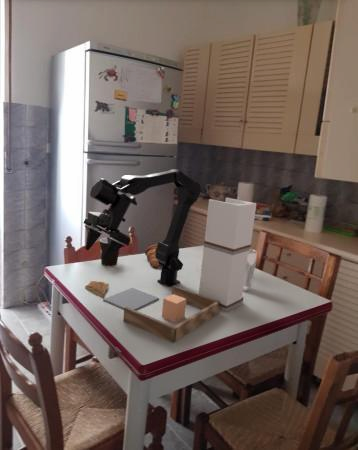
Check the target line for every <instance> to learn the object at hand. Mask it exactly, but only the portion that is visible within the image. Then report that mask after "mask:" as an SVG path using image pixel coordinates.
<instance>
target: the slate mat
mask: <svg viewBox="0 0 358 450" xmlns="http://www.w3.org/2000/svg"><path fill="white" fill-rule="evenodd" d="M102 300H103V302H106V303H108V304H110V305H112V306H115V307H118V308H119V309H122V310H124V308H125V307H128V308H131V309H133V310H136V311H137V310H139V309H141V308H143V307H146V306H148V305H150V304H152V303H154V302H156V301H158V300H160V298H159V297H157V296H155V295H152V294H149V293H147V292H145V291H142V290H139V289H136V288H134V287H130V288H128V289H125V290H123V291H119V292H117V293H115V294H113V295H110V296H108V297H103V299H102Z"/></svg>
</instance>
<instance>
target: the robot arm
mask: <svg viewBox="0 0 358 450" xmlns="http://www.w3.org/2000/svg"><path fill="white" fill-rule="evenodd" d="M167 184H173V185H174V186H175V188H177V193H176V197H177V204H176V207H175V211H174V213H173V216H172V219H171V221H170V225H169V228H168V231H167V234H166V237H165V238H164V239H163V240H162V241H158V242H157V244H158V245H157V248H156V250H155V252H156V254H155V257H156V259H157V260H158V263H159V264H160V265H162V267H161V269H160V279H157V280H156V282H157V283H159V284H162V285H164V286H167V287H172V286H176V285H177V284H180V282H181V281H180V280H178V271H180V270H182V269H183V266H184V263H183V262H182V261H181V260H180V258H179V256H180V247H179V242H180V239H181V235H182V234H183V230H184V227H185V224H186V222H187V219H188V216H189V212H190V210H191V207H192V206H193V205H194V204H195V203H196V202H197V201H198V199H199V197H200V195H201V193H202V187H201V184H200V183H199V182H196V181H195V180H193V179H192V178H190V177H189V176H187V175H186V174H185V173H184V172H183V171H182V170H180V169H176V168H175V169H174V168H173V169H172V168H171V169H170V170H166V171H162V172H161V171H160V172H155V173H150V174H147V175H135V174H133V175H129V174H128V175H127V174H126V175H123V176H121V178H120V180H118V181H116V182H114V183H111V182H109V181H108V180H107V179H105V178H100V180H99V181H97V182H96V183H95V184H94V185H93V186H92V187H91V188H90V189H91V190H90V191H89V192H90V195H89V196H90V198H92V199H94V200H96V201H98V202H99V203H101V204H103V205H105V206H108V208H107V209H106V208H104V209H103V211H102V212H99V211H88V213H87V215H86V216H87V217H86V218H85V219H84V221H83V224H84V227H85V229H86V231H87V233H86V234H87V236H86V241H85V247H84V248H85V250H86V251H89V250H90V249H91V248H92V247H93V245H94V244H95V243H96V242H97V241H98V239H99V238H100V236H101V235H102V234H103V233H105V234H107V235H109V237H106V238H107V240H108V244H107V246H106V248H105V250H104V253H103V255H102V258H101V257H100V260H101V259H102V260H105V259H106V258H107V257H109V256H110V255H111V254H113V253H114V252H115V251H117V250H118V249H120V250H121V248H122V247H123V248H125V247H126V246H129V245H130V243H131V241H132V239H131V236H129V235H127V234H126V233H123V232H121V230H120V229H119V228H120V225H121V224H122V222H123V223H125V222H126V218H125V216H126V214H127V212H128V210H129V208H130V207H131V205H133V206H137V205H138V202H137V201H136V196H138V195H140V194H142V193H144V192H145V191H147V190H148V189H150V188H154V187H158V186H162V185H167ZM120 193H121V194H120ZM127 194H129V195H131V196H129V195H127ZM101 232H103V233H101ZM110 238H112V239H110Z"/></svg>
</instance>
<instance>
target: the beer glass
mask: <svg viewBox="0 0 358 450" xmlns="http://www.w3.org/2000/svg"><path fill="white" fill-rule="evenodd" d="M257 257H258V251H257V250H256V249H254V248H253V249H252V248H250V254H248V257H247V264H246V272H245V279H244V286H243V292H248V291H249V292H250V291H251V290H252V278H253V276H254V275H253V274H254V272H255V269H256V264H257Z"/></svg>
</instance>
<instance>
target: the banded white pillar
mask: <svg viewBox="0 0 358 450" xmlns="http://www.w3.org/2000/svg"><path fill="white" fill-rule="evenodd" d="M224 200H225V201H221V200H216V199H212V198H211V199H208V206H207V214H206V225H205V232H204V233H205V234H204V241H203V243H204V244H203V251H202V260H201V269H200V271H201V272H200V280H199V288H198V294H200V295H202V296H205V297H208V298H211V299H214V300H217V301H220V307H219V311H220V310H221V311H222V310H223V312H225V313H226V311H227V312H229V311H231V310H233V309H234V307H235V308H236V306H237V307H239V306H240V305H242V304H244V297H243V292H244V291H243V286H244V279H245V272H246V264H247V257H248V254H250V249H251V247H252V238H253V233H254V225H255V224H254V223H255V219H256V218H255V217H256V210H257V203H256V202H251V201H245V200H240V199H236V198H231V197H225V199H224ZM232 308H233V309H232ZM230 309H231V310H230ZM228 310H229V311H228Z"/></svg>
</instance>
